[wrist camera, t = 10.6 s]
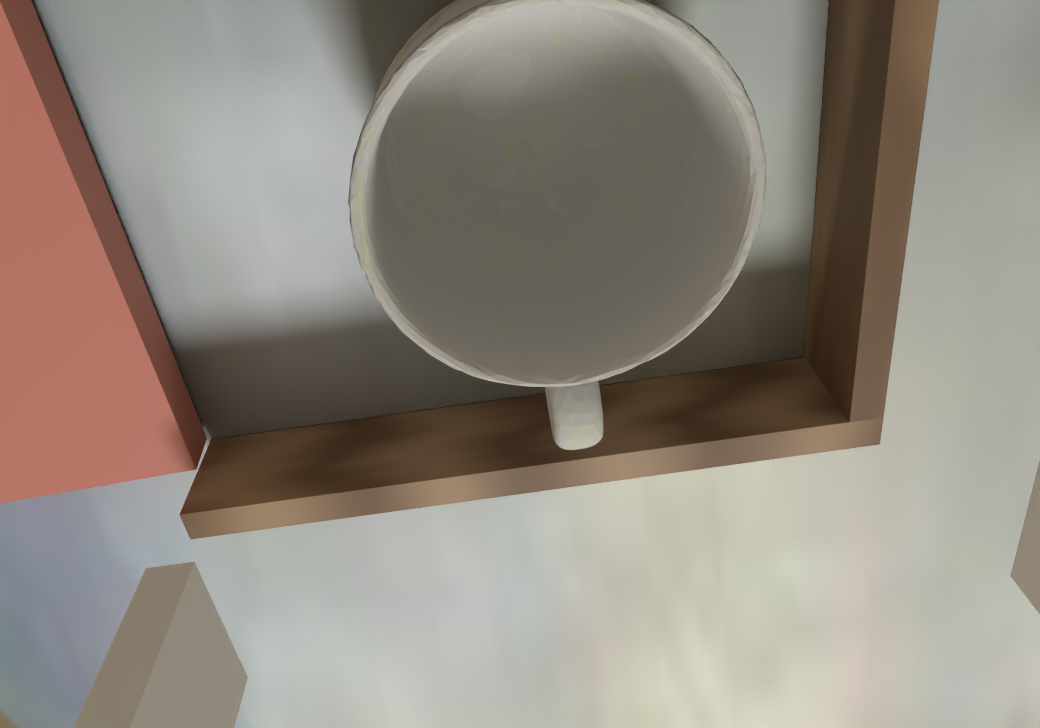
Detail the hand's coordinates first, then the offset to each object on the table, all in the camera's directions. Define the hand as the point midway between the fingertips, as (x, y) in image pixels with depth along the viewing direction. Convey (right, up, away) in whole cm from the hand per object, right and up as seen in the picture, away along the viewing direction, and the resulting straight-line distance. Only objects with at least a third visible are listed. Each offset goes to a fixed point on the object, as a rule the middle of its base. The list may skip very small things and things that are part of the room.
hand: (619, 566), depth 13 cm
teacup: (-1, +10, +16) cm, 19 cm away
